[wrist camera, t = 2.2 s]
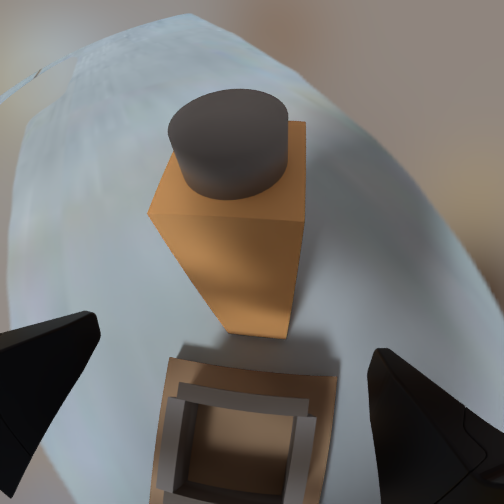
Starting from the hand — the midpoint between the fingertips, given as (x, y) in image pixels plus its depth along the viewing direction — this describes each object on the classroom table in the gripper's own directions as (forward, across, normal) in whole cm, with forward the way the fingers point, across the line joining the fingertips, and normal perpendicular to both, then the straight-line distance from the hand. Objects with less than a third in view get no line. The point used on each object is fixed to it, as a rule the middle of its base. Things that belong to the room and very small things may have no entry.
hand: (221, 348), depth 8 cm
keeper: (+3, 0, +13) cm, 13 cm away
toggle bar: (+11, 0, +5) cm, 12 cm away
